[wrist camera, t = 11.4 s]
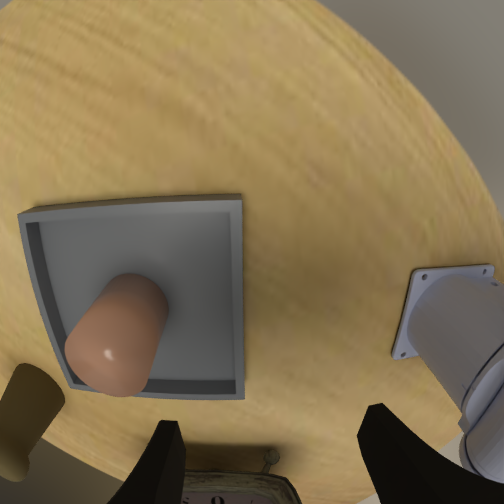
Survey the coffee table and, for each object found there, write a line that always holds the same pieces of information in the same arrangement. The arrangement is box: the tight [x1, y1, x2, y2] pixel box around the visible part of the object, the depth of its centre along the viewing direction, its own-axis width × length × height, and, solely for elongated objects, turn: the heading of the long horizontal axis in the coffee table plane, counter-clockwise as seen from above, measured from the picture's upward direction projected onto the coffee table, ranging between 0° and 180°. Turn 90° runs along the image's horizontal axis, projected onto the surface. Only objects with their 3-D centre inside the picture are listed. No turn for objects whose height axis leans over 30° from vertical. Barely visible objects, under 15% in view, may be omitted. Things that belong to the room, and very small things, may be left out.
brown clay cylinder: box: [65, 274, 169, 397], centre depth 16 cm, size 5×5×6 cm
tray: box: [17, 194, 245, 400], centre depth 18 cm, size 14×14×2 cm
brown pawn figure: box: [0, 363, 65, 482], centre depth 17 cm, size 6×6×11 cm
